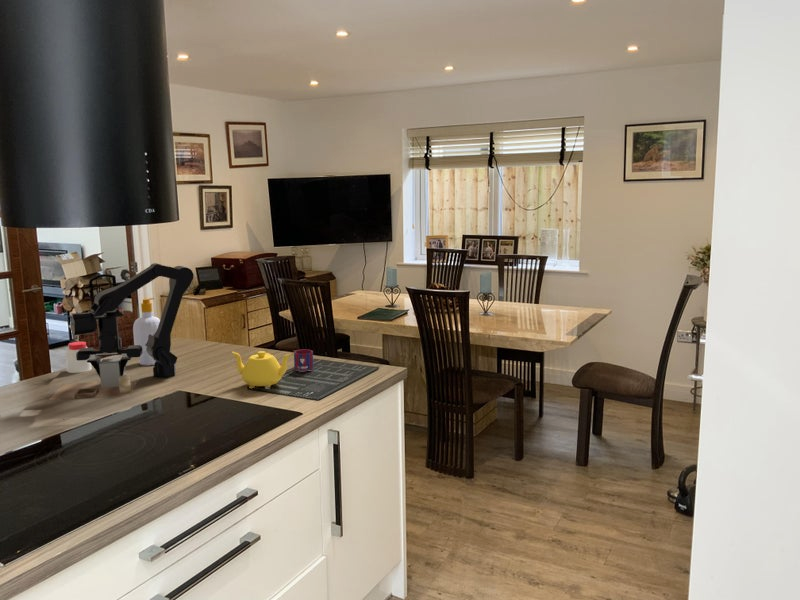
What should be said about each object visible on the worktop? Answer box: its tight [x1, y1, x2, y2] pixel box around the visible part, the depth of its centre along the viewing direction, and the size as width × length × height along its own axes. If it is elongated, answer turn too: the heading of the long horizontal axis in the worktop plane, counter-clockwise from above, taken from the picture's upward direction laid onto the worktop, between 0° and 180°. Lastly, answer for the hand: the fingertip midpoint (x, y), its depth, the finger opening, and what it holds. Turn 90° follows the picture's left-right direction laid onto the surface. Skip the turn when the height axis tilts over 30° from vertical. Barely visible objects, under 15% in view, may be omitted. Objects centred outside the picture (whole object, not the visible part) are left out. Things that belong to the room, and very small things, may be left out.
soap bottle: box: [132, 297, 161, 367], centre depth 235 cm, size 10×10×24 cm
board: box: [48, 379, 140, 401], centre depth 201 cm, size 23×16×3 cm
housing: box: [99, 357, 122, 388], centre depth 205 cm, size 6×6×8 cm
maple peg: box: [119, 374, 131, 394], centre depth 198 cm, size 3×3×5 cm
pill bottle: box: [64, 341, 93, 374], centre depth 222 cm, size 8×8×11 cm
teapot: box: [231, 350, 292, 388], centre depth 211 cm, size 20×15×12 cm
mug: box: [293, 348, 314, 371], centre depth 230 cm, size 7×10×7 cm
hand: (111, 378), depth 206 cm, fingers closed on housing, 6 cm apart
